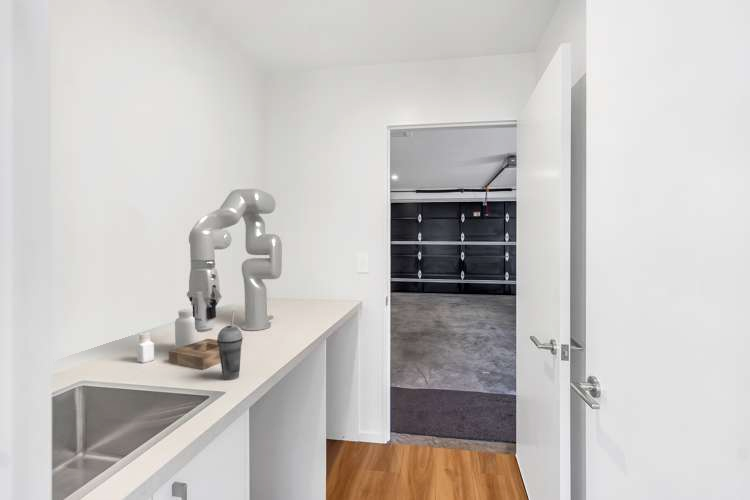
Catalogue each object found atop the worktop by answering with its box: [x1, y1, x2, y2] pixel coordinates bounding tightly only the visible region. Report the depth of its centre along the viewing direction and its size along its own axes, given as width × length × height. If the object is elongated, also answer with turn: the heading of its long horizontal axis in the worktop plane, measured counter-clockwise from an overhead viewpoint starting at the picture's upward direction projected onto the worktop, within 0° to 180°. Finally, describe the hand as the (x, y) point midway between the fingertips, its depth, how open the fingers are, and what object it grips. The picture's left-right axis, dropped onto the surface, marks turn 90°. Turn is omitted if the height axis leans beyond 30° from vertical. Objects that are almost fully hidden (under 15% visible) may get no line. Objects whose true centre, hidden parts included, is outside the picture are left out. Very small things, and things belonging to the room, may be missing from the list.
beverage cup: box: [216, 310, 244, 381], centre depth 114 cm, size 7×7×20 cm
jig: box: [168, 338, 221, 371], centre depth 131 cm, size 16×16×4 cm
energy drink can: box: [194, 288, 215, 333], centre depth 130 cm, size 6×6×15 cm
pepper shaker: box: [136, 331, 155, 364], centre depth 129 cm, size 4×4×10 cm
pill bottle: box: [174, 308, 200, 349], centre depth 141 cm, size 8×8×15 cm
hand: (204, 317), depth 131 cm, fingers closed on energy drink can, 6 cm apart
